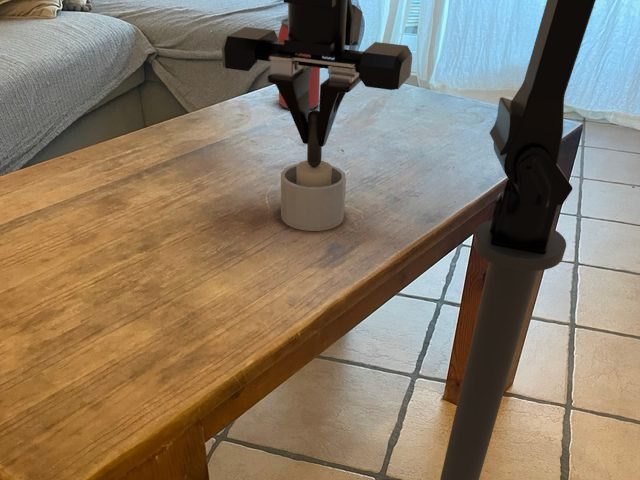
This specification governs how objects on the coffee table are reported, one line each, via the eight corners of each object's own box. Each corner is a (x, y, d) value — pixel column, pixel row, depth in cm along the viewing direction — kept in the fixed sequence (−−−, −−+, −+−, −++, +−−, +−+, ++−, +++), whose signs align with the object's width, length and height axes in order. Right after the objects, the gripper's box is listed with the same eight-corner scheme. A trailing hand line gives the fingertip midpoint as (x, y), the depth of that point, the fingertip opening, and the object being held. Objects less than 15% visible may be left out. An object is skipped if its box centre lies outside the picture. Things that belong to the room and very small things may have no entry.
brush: (335, 196, 78) (338, 107, 71) (324, 210, 75) (326, 118, 69) (303, 191, 79) (304, 102, 72) (291, 204, 76) (291, 113, 70)
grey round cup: (351, 209, 80) (353, 168, 77) (331, 235, 75) (333, 193, 72) (294, 199, 82) (294, 158, 79) (271, 224, 77) (270, 182, 73)
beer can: (327, 105, 109) (329, 21, 101) (301, 114, 105) (301, 28, 97) (296, 96, 112) (297, 14, 104) (270, 105, 108) (268, 21, 100)
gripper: (433, -30, 66) (413, 132, 76) (260, -45, 70) (264, 110, 81) (406, -11, 58) (389, 167, 69) (213, -30, 62) (225, 141, 73)
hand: (314, 144), depth 73 cm, fingers closed on brush
